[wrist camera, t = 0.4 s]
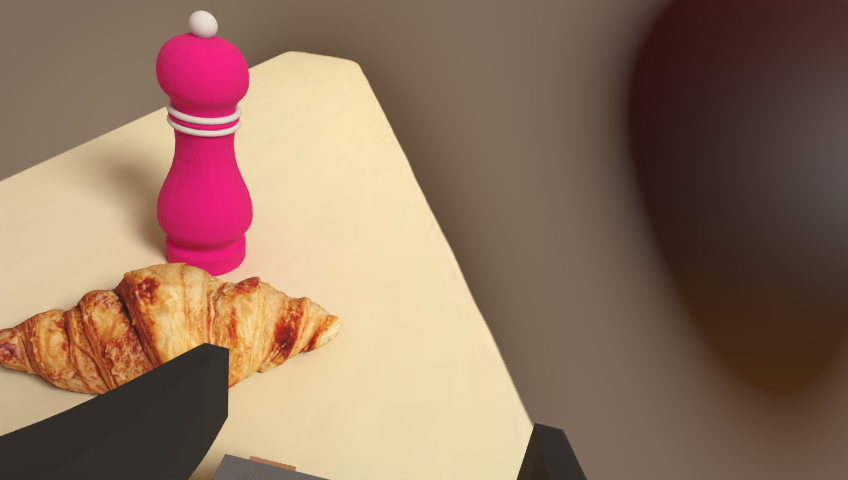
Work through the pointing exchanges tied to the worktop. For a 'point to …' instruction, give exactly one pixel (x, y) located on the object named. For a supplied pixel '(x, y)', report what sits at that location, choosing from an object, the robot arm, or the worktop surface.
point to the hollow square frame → (257, 470)
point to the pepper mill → (204, 149)
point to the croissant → (164, 329)
